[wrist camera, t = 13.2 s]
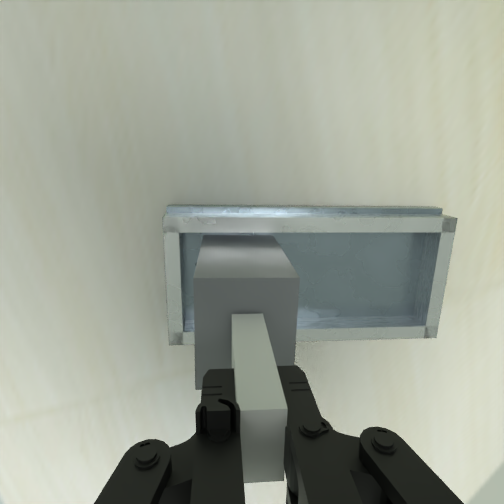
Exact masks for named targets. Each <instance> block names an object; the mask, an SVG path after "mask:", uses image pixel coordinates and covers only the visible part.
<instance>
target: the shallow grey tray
mask: <svg viewBox="0 0 504 504" xmlns="http://www.w3.org/2000/svg"><path fill="white" fill-rule="evenodd" d="M162 218H163V237H164V256H165V276H166V295H167V314H168V333H169V345H192V344H195V338H194V289H193V277H194V273H195V269H196V265H197V260H198V256H199V252H200V247H201V243H202V239H203V235H273V236H274V237H275V239H276V241H277V242H278V244H279V245H280V247H281V249H282V250H283V252H284V253H285V255H286V256H287V258H288V260H289V261H290V263H291V264H292V266H293V268H294V269H295V271H296V272H297V274H298V276H299V277H300V285H299V300H298V315H297V330H296V342H302V341H339V340H375V339H412V338H436V336H437V331H438V325H439V319H440V314H441V308H442V302H443V297H444V291H445V286H446V280H447V274H448V269H449V263H450V257H451V252H452V246H453V240H454V235H455V229H456V224H457V218H455V217H451V216H447V215H443V214H442V208H438V207H406V206H239V205H168V206H167V213H166V214H165V215H164V216H163V217H162Z"/></svg>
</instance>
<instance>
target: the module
mask: <svg viewBox="0 0 504 504" xmlns="http://www.w3.org/2000/svg"><path fill="white" fill-rule="evenodd" d="M299 285H300V277H299V276H298V274H297V272H296V271H295V269H294V268H293V266H292V264H291V263H290V261H289V260H288V258H287V256H286V255H285V253H284V252H283V250H282V249H281V247H280V245H279V244H278V242H277V241H276V239H275V237H274V236H273V235H203V239H202V243H201V247H200V252H199V256H198V260H197V265H196V269H195V273H194V277H193V289H194V338H195V387H196V390H201V389H202V383H203V377H204V375H205V374H206V373H207V371H208V370H209V369H230V368H232V314H261V313H263V316H264V320H265V324H266V328H267V331H268V335H269V339H270V343H271V347H272V351H273V354H274V358H275V362H276V366H292V365H294V360H295V345H296V330H297V315H298V300H299Z"/></svg>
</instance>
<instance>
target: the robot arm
mask: <svg viewBox="0 0 504 504" xmlns="http://www.w3.org/2000/svg"><path fill="white" fill-rule="evenodd" d="M284 470H285V474H286V479H287V495H286V504H464V503H463V502H462V501H461V500H460V499H459V498H458V497H457V496H456V495H455V494H454V493H453V492H452V491H451V490H450V489H449V487H448V486H447V485H446V484H445V483H444V482H443V481H442V480H441V479H440V478H439V477H438V476H437V475H436V474H435V473H434V472H433V471H432V470H431V469H430V468H429V466H428V465H427V464H426V463H425V462H424V461H423V460H422V459H421V458H420V457H419V456H418V455H417V454H416V453H415V452H414V451H413V450H412V449H411V448H410V446H409V445H408V444H407V443H406V442H405V441H404V440H403V439H402V438H401V437H400V436H398V435H397V434H396V433H395V432H392V431H390V430H388V429H386V428H381V427H369V428H367V429H365V430H363V432H362V433H361V435H360V438H359V437H354V436H349V435H345V434H342V433H339V432H337V431H335V430H333V428H332V427H331V425H330V424H329V422H328V421H326V420H325V419H324V418H322V417H321V415H320V412H319V409H318V407H317V404H316V401H315V399H314V396H313V394H312V391H311V388H310V386H309V383H308V381H307V378H306V375H305V373H304V372H303V371H302V370H301V369H300V368H299V367H298V366H297V365H292V366H276V362H275V358H274V354H273V351H272V347H271V343H270V339H269V335H268V331H267V328H266V324H265V320H264V316H263V313H261V314H232V368H230V369H209V370H208V371H207V373H206V374H205V375H204V377H203V383H202V396H201V403H200V404H199V405H198V407H197V409H196V433H195V434H194V435H193V436H192V437H191V438H190V439H189V440H187V441H186V442H184V443H181V444H179V445H176V446H173V447H170V448H169V446H168V445H167V444H166V443H165V442H163V441H160V440H157V439H148V440H144V441H141V442H138V443H137V444H135V445H134V446H132V447H130V449H129V450H128V451H127V452H126V453H125V454H124V456H123V458H122V459H121V461H120V462H119V464H118V466H117V467H116V469H115V471H114V472H113V474H112V475H111V477H110V479H109V480H108V482H107V483H106V485H105V487H104V488H103V490H102V492H101V493H100V495H99V496H98V498H97V500H96V501H95V503H94V504H245V494H244V483H253V482H269V481H284Z"/></svg>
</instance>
